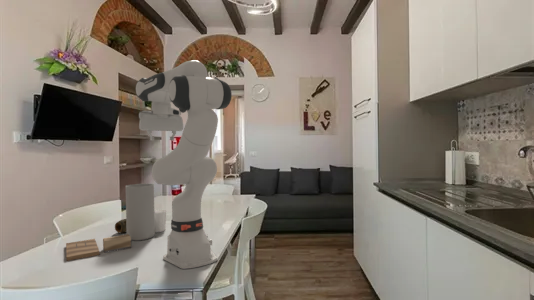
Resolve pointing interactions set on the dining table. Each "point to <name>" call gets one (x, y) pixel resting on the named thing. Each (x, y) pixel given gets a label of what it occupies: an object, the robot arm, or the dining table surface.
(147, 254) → the dining table surface
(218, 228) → the dining table surface
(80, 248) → the board
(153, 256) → the dining table surface
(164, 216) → the white cup
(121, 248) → the sanding block
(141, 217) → the cylinder vase
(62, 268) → the dining table surface
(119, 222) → the brown wooden tube
